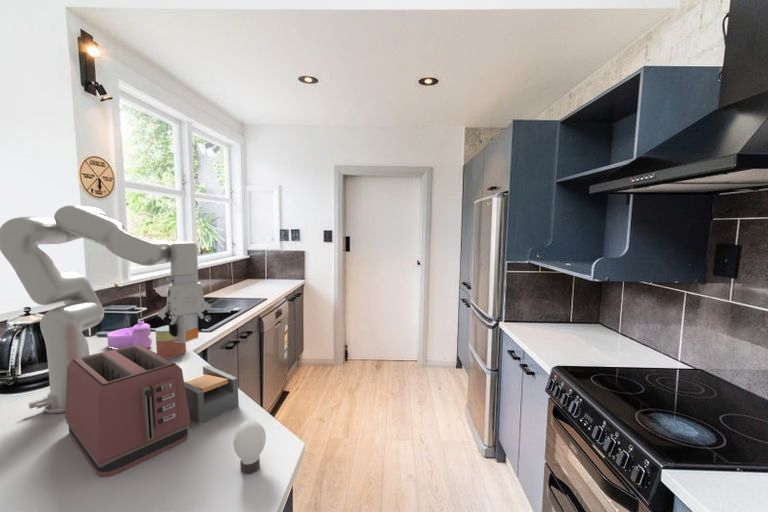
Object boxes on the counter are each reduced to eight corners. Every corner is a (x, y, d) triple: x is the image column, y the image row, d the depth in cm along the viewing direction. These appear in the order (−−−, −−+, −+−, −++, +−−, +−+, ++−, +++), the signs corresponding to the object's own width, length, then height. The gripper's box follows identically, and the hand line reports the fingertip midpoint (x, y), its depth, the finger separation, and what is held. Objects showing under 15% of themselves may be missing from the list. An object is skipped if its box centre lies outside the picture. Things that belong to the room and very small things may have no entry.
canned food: (191, 352, 151) (189, 326, 151) (164, 360, 142) (162, 332, 141) (178, 347, 157) (177, 323, 157) (151, 355, 148) (150, 328, 147)
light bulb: (229, 479, 73) (227, 430, 72) (242, 458, 79) (240, 413, 78) (260, 478, 73) (258, 430, 72) (270, 457, 79) (269, 413, 79)
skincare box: (184, 343, 106) (183, 306, 106) (173, 342, 107) (172, 305, 107) (199, 337, 112) (198, 302, 112) (188, 337, 113) (187, 302, 112)
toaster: (103, 486, 71) (96, 394, 69) (65, 431, 91) (59, 359, 90) (196, 441, 86) (192, 364, 85) (146, 402, 106) (142, 340, 105)
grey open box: (199, 424, 94) (197, 393, 93) (170, 405, 104) (168, 377, 103) (238, 406, 103) (237, 377, 103) (208, 390, 114) (207, 365, 113)
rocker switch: (203, 398, 96) (202, 388, 96) (179, 391, 104) (178, 381, 104) (228, 388, 102) (227, 378, 102) (204, 382, 111) (203, 373, 111)
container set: (102, 346, 161) (100, 319, 160) (137, 337, 174) (136, 312, 173) (127, 355, 149) (125, 326, 148) (163, 345, 162) (162, 318, 161)
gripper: (159, 283, 99) (161, 342, 100) (217, 277, 113) (218, 329, 114) (149, 281, 104) (151, 337, 105) (206, 276, 118) (207, 325, 119)
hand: (186, 332), depth 110 cm, fingers closed on skincare box, 7 cm apart
